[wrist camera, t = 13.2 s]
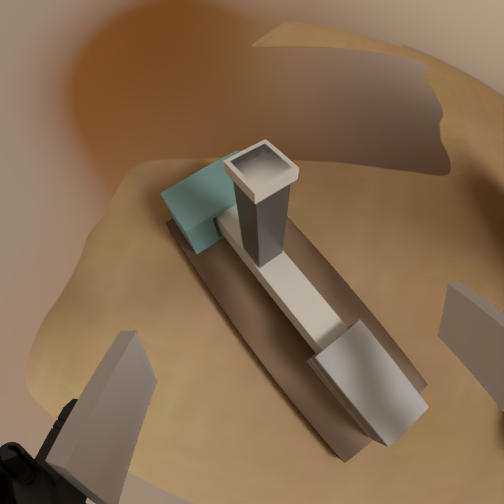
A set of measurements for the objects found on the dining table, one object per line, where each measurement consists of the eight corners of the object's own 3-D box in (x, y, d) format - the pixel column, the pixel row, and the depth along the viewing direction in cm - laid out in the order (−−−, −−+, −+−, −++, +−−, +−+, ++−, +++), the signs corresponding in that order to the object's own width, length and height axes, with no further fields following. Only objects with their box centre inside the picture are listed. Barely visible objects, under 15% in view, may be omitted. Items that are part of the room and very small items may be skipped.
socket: (240, 178, 35) (237, 149, 31) (269, 208, 33) (269, 180, 28) (172, 218, 33) (160, 193, 28) (196, 254, 31) (185, 231, 26)
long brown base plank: (247, 181, 37) (244, 146, 31) (421, 384, 24) (453, 382, 18) (169, 229, 34) (152, 198, 28) (340, 459, 22) (359, 477, 16)
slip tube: (232, 204, 32) (215, 99, 19) (361, 359, 24) (449, 333, 11) (209, 218, 32) (178, 116, 19) (337, 381, 23) (411, 378, 10)
